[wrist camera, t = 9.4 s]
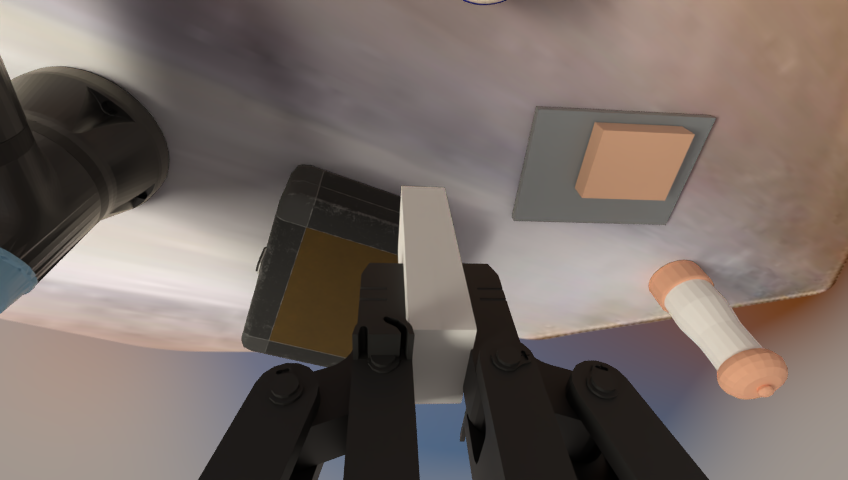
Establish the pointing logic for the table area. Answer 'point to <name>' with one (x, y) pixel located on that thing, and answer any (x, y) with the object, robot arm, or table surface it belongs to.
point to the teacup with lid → (484, 2)
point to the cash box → (319, 266)
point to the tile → (632, 161)
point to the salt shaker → (717, 331)
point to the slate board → (562, 159)
